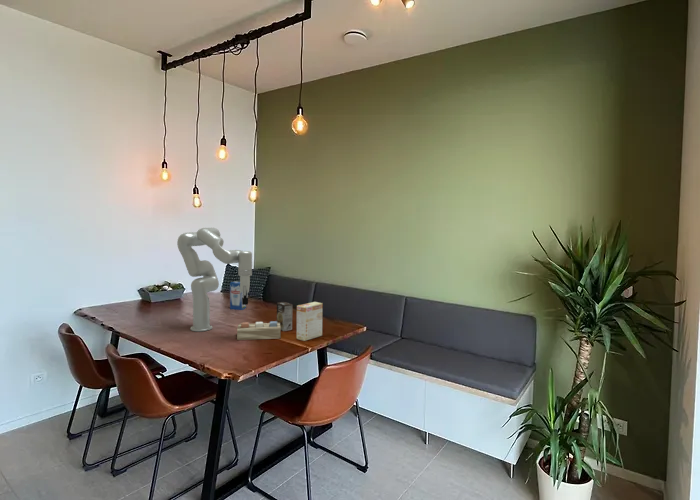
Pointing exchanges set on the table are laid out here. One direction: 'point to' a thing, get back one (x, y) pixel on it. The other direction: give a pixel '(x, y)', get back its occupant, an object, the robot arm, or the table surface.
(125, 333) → the table surface
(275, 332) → the key console
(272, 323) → the slate-blue key
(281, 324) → the coffee box
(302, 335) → the coffeecake box
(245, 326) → the terracotta key
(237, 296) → the milk carton
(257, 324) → the white key
